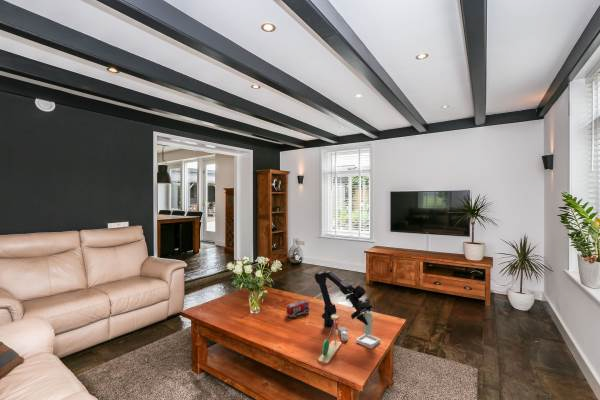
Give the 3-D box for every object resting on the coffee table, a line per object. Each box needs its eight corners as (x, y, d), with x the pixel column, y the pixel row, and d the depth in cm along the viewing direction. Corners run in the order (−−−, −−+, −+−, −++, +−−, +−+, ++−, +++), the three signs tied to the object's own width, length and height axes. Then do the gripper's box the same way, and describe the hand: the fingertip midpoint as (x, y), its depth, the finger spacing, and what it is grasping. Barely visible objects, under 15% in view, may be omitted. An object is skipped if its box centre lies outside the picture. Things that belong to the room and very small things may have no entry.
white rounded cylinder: (341, 341, 188) (341, 334, 187) (340, 337, 192) (340, 331, 192) (348, 340, 188) (348, 334, 188) (346, 337, 192) (346, 330, 192)
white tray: (356, 342, 186) (356, 339, 186) (365, 336, 194) (365, 333, 194) (371, 348, 178) (371, 345, 178) (380, 342, 186) (380, 339, 186)
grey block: (340, 336, 193) (340, 330, 193) (338, 333, 198) (338, 327, 198) (347, 336, 194) (347, 330, 194) (344, 332, 199) (344, 326, 199)
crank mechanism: (332, 342, 187) (332, 313, 186) (342, 344, 184) (342, 315, 183) (317, 362, 164) (316, 329, 164) (327, 365, 161) (327, 332, 161)
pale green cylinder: (366, 335, 182) (367, 315, 182) (362, 331, 187) (362, 312, 187) (373, 333, 184) (373, 314, 184) (369, 330, 189) (369, 310, 189)
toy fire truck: (310, 313, 230) (310, 301, 230) (291, 319, 220) (290, 306, 220) (304, 310, 238) (304, 298, 238) (285, 315, 228) (285, 303, 227)
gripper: (354, 299, 181) (369, 322, 174) (370, 292, 194) (385, 313, 187) (344, 308, 187) (358, 330, 180) (360, 300, 200) (374, 320, 193)
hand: (369, 323), depth 185 cm, fingers closed on pale green cylinder, 5 cm apart
